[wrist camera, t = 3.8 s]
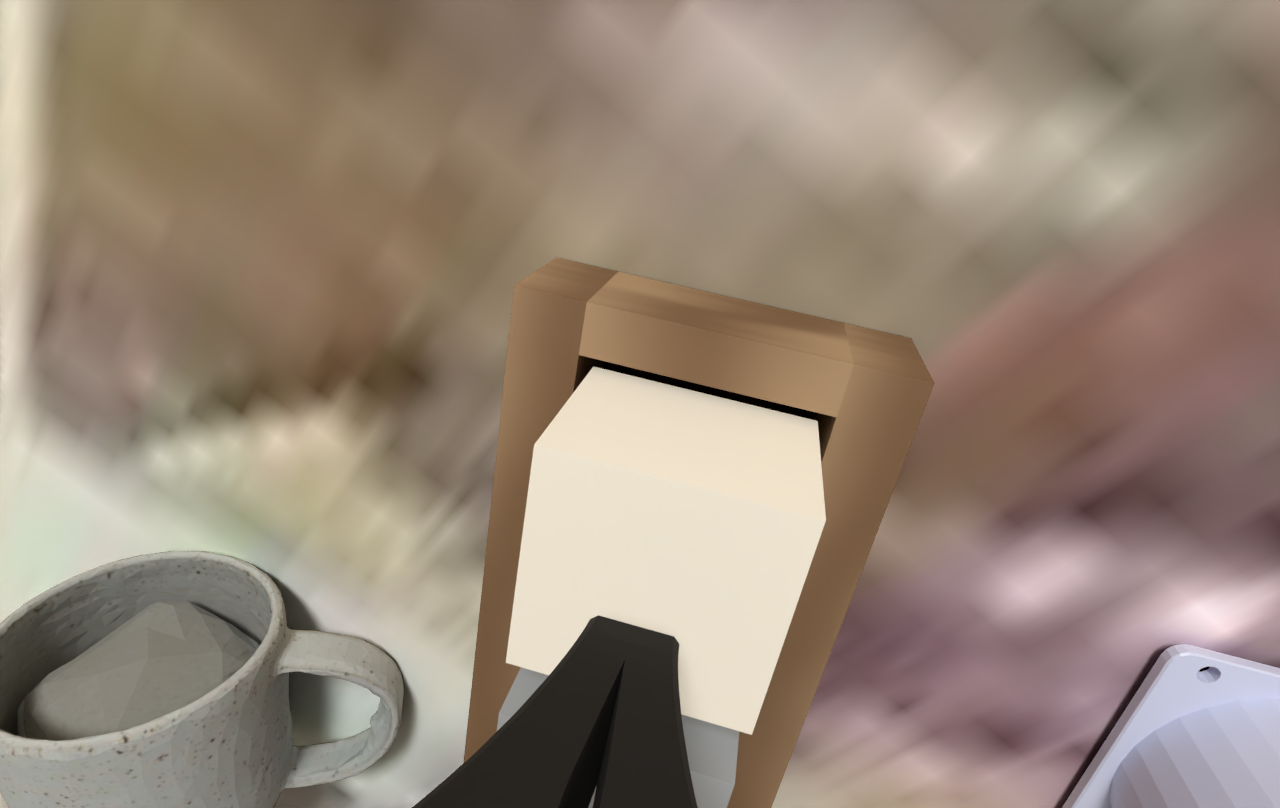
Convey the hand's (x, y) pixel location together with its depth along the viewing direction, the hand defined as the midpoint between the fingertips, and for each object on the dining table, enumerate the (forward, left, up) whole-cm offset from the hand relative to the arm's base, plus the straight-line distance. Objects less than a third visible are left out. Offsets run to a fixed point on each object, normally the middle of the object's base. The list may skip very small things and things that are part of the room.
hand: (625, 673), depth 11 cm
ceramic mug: (+13, +12, -9) cm, 20 cm away
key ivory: (0, 0, -6) cm, 6 cm away
